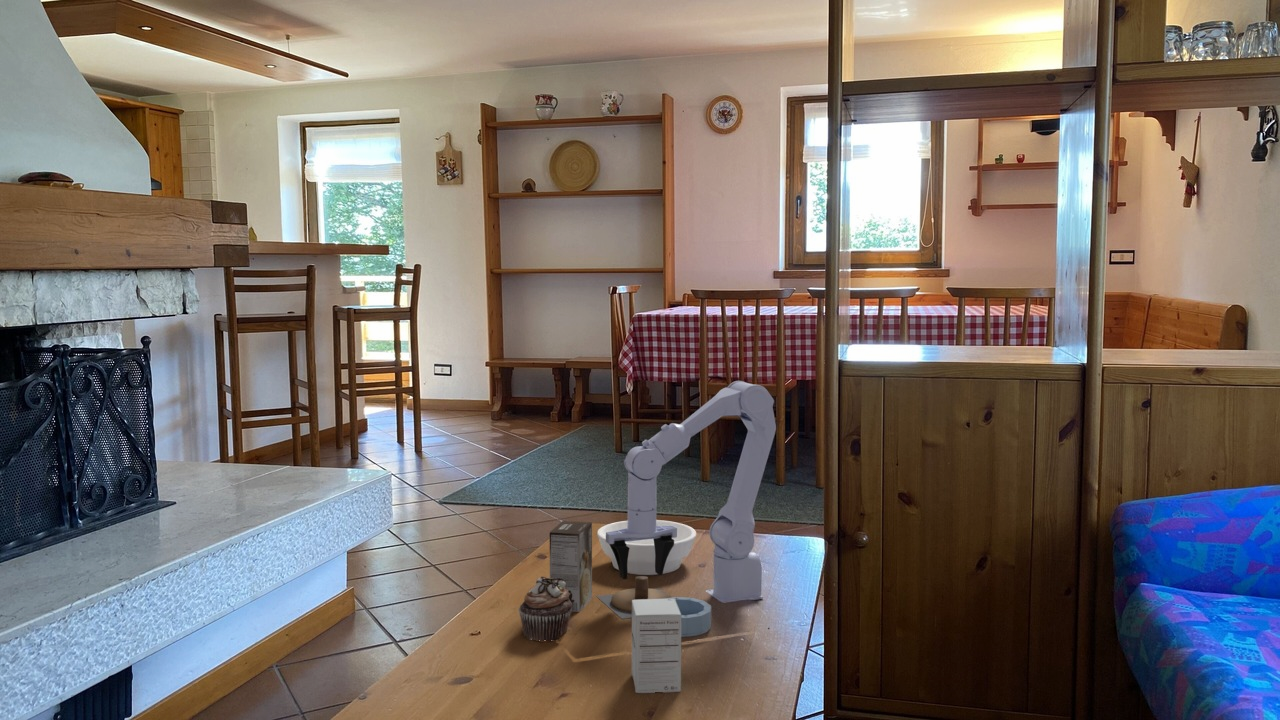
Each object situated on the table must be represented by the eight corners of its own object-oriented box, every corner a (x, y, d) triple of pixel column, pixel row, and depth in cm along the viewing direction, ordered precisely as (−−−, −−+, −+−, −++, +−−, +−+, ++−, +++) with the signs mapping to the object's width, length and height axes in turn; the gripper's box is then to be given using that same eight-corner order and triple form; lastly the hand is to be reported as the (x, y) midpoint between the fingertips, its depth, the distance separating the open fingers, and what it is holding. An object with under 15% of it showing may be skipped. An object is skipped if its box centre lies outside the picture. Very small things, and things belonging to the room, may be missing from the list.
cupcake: (523, 623, 170) (523, 571, 169) (574, 624, 170) (574, 572, 169) (514, 643, 160) (514, 587, 160) (568, 644, 160) (568, 588, 159)
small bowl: (694, 614, 175) (694, 594, 175) (721, 634, 165) (721, 612, 165) (642, 622, 171) (642, 601, 171) (666, 643, 161) (666, 621, 160)
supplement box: (630, 674, 148) (630, 598, 147) (675, 673, 148) (676, 597, 147) (634, 694, 140) (634, 614, 139) (681, 692, 141) (682, 613, 140)
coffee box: (562, 597, 185) (562, 519, 184) (592, 599, 183) (592, 521, 182) (548, 612, 176) (548, 531, 175) (580, 615, 174) (580, 533, 173)
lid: (656, 590, 188) (656, 566, 188) (681, 608, 177) (682, 583, 177) (602, 597, 183) (602, 573, 183) (625, 616, 172) (625, 590, 172)
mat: (659, 590, 189) (659, 587, 189) (688, 612, 176) (688, 609, 176) (596, 599, 184) (596, 596, 184) (621, 622, 171) (621, 619, 171)
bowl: (661, 548, 221) (662, 515, 220) (716, 573, 202) (716, 536, 201) (579, 562, 209) (579, 526, 209) (628, 589, 190) (629, 550, 189)
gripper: (667, 500, 185) (666, 566, 186) (600, 506, 179) (600, 573, 180) (681, 508, 179) (681, 576, 180) (613, 514, 173) (612, 584, 174)
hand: (641, 575), depth 180 cm, fingers open, 7 cm apart
